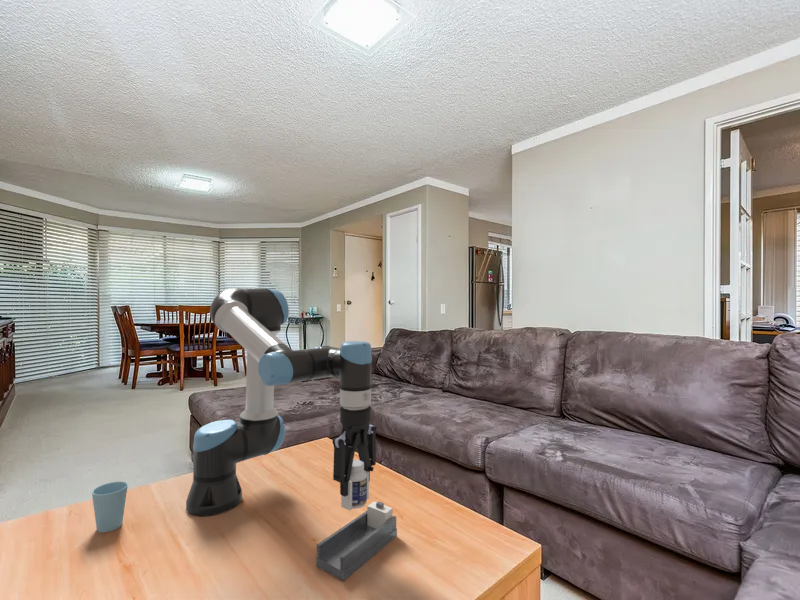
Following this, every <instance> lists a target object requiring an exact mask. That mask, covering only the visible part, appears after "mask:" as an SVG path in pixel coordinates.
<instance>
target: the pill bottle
mask: <svg viewBox="0 0 800 600" xmlns="http://www.w3.org/2000/svg"><path fill="white" fill-rule="evenodd" d="M350 480H351V481H352V509H353V510H354V509H361V508H363V507H365V506H366V504H367V500H368V499H367V473H366V472H365V471H364V462H363V461H361V460H359V459H353V464H352V470H351V475H350ZM352 509H351V510H352Z"/></svg>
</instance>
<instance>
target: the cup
mask: <svg viewBox="0 0 800 600" xmlns="http://www.w3.org/2000/svg"><path fill="white" fill-rule="evenodd" d="M128 484H129V483H127V482H126V481H114V482H113V481H112V482H111V481H110V482H109V483H108V482H107V483H104V484H101V485H99V486H97V487H95V488H94V489H93V490H92V491H91V494H92V503H93V512H94V519H95V526H96V527H95V528H96V531H97V532H98V533H110V532H113V531H115V530H117V529H119V528H120V527H121V526H122V525H123V522H124V521H123V520H124V514H125V505H126V499H127V493H128V487H129V485H128Z"/></svg>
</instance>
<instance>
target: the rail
mask: <svg viewBox="0 0 800 600" xmlns="http://www.w3.org/2000/svg"><path fill="white" fill-rule="evenodd" d="M397 537H398V528H397V516H396V515H393V517H392V518H390V519H389V520H388V521H386V522H385V523H384V524H382V525H381V526H380V527H378V528H377V529H375V528H373V527H370V526H368V525H367V510H366V511H364V512H363V513H362V514H359V515H358V516H356V517H355V518H354V519H353V520H351V521H349V522H348V523H346V524H345V525H344V526H342V527H341V528H339V529H338V530H336V531H335V532H333V533H332V534H330V535H329V536H327V537H325V538H324V539H323V540H322V541H320V542H318V543H316V556H315V557H316V558H315V559H316V560H315V561H316V562H315V563H316V565H315V566H316V567H317V568H318V569H320V570H323V571H324V572H326V573H328V574H329V575H332V576H334V577H335V578H337V579H339V580H341V581H342V582H345V581H346V580H348V578H350V576H352V575H353V574H355V572H356V571H358V570H359V569H360V568H361V567H363V565H365V564H366V563H367V562H368V561H370V560H371V559H372V558H373V557H375V556H376V554H378V553H379V552H380V551H382V550H383V549H384V548H385V547H386V546H388V544H390V543H391V542H392V541H393V540H394V539H396V538H397Z"/></svg>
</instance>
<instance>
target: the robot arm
mask: <svg viewBox="0 0 800 600" xmlns="http://www.w3.org/2000/svg"><path fill="white" fill-rule="evenodd" d="M289 311H290V310H289V304H288V301H287V298H286V297H285V295H284V294H283V293H282V292H281V291H279V290H277V289H270V288H240V287H237V288H236V287H234V288H229V289H228V288H227V289H226V290H223V291H221V292H220V293H219V294H217V295H216V296H215V298H214V299H213V300H212V302H211V305H210V308H209V316H210V319H211V321H212V323H213V324H214V325H215V326H216V327H217V329H218V330H220V331H222V332H224V333H228V335H230V336H231V337H232V338H233V339H234V340H235V341H236V342H237V343H238V344H239V345H240V346H241V347H242V348H244V350H245V351H246V376H245V377H246V379H245V409H244V410H243V411H242V412H241V413H240V414H239V422H236V421H235V420H233V419H223V420H221V419H220V420H216V421H212V422H209V423H207V424H205V425H202V426H200V427H199V428H198V430H196V431H195V433H194V436H193V444H192V450H193V451H192V453H193V454H192V455H193V461H192V463H193V464H192V468H193V470H192V475H193V478H192V483H191V486H190V490H189V493H188V496H187V498H186V502H185V503H186V504H185V505H186V506H185V507H186V508H185V510H186V512H187V513H188V514H190V515H192V516H197V517H211V516H215V515H216V516H217V515H219V514H220V515H221V514H223V513H226V512H229V511H231V510H232V509H234V508H236V507H237V506H238V505H239V504H240V503H241V502H242V499H243V490H242V489H243V488H242V487H241V484H240V481H239V478H238V476H237V463H240V462H244V461H246V460H250V459H254V458H258V457H261V456H266V455H269V454H270V453H272V452H275V451H277V450H278V449H279V448H280V447H281V446H282V444H283V443H284V440H285V434H286V427H285V424H284V420H283V417H281V416H280V415H279V412H278V410H277V409H275V408H274V402H275V401H274V397H275V395H274V393H275V386H285V385H288V384H293V383H299V382H305V381H311V380H318V379H323V378H334V379H339V381H340V385H339V405H340V406H341V407H340V409H339V422H340V424H341V425H342V429H341V431H340V432H341V435H339V436H338V437H333V438H332V445H333V470H332V471H333V473H332V475H333V476H332V480H333V481H335V482H337V483H338V482H339V484H340V485H339V488H340V489H339V493H340V496H341V497H340V499H341V503H340V504H341V508H343V509H345V510H348V511H351V510H352V481H351V480H350V475H351V470H352V464H353V460H354V457H355V453H356V452H357V455H358V460H361V461H363V462H364V471H365V472H366V473H367V500H369V498H370V481H371V478H370V476H371V475H370V474H371V472H373V471H374V469H375V467H374V466H375V465H376V464H377V457H376V453H377V451H376V450H377V449H376V433H377V430H378V429H377V428H378V427H377V426H376V425H373V424H371V422H372V407H371V405H372V373H373V372H372V369H373V368H372V367H373V366H372V362H373V358H372V357H373V356H372V346H371V344H370V342H368V341H363V340H361V341H358V340H357V341H356V340H353V341H351V340H350V341H343V342H342V343H341V344H340V347H333V346H330V345H319V346H314V348H308V349H305V348H304V349H295V350H294V349H292V348H291V347H289V346H288V345H287V344H286V343H285V342H283V341H282V340H281V339H280V338H278V336H277V335H278V334H279V333H280V332H281V326H282V325H283V324H286V322H287V321H288V319H289V314H290V312H289Z"/></svg>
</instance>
